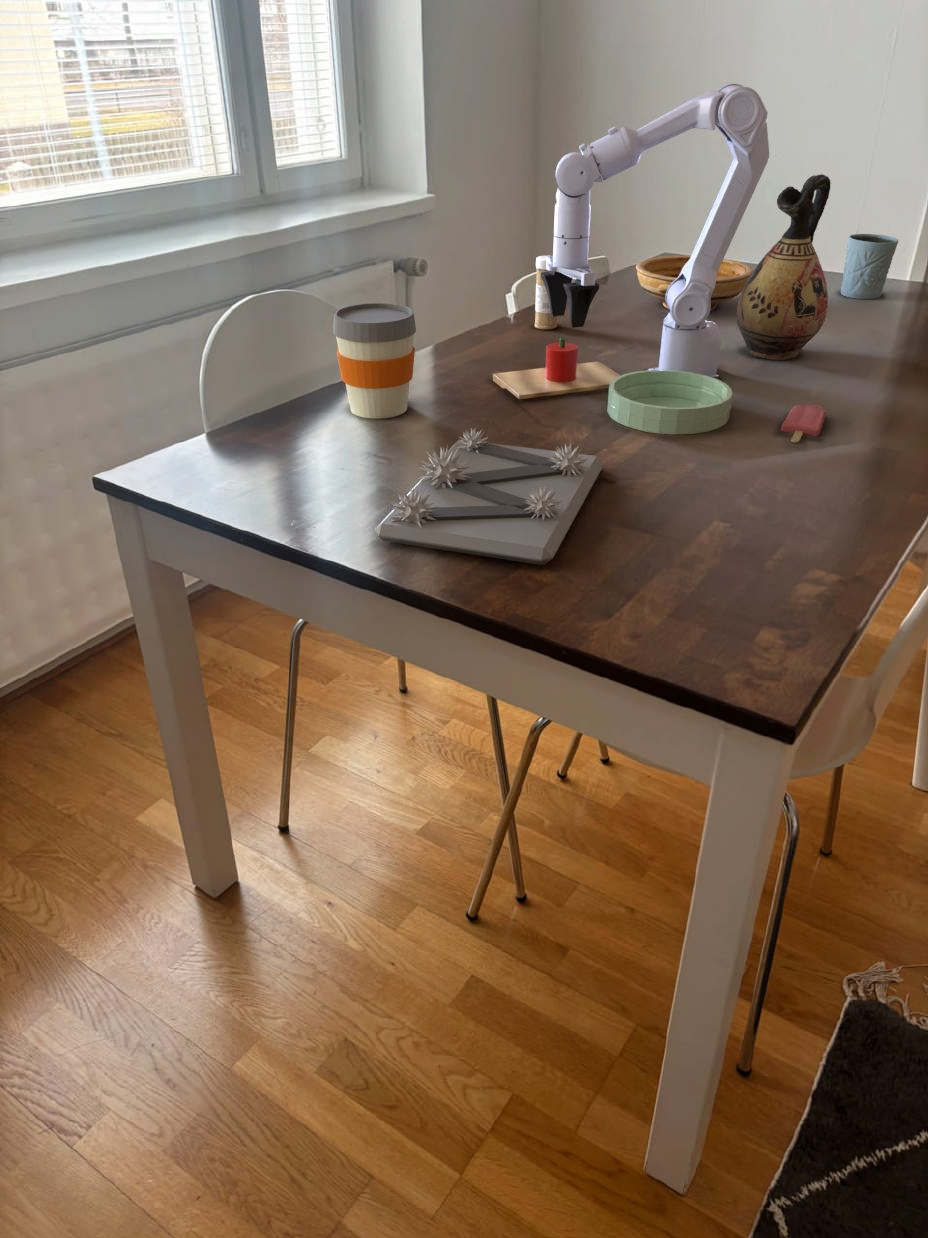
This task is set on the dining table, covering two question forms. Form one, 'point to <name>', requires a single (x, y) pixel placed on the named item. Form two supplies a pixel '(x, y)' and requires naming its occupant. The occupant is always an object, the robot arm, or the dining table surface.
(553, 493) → the decorative plate
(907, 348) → the dining table surface
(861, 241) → the blue embossed cup
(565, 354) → the pepper
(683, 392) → the bowl
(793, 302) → the ceramic jug
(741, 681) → the dining table surface
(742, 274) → the ceramic bowl
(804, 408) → the popsicle
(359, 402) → the reusable coffee cup
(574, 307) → the robot arm
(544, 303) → the sprinkles bottle
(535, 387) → the cutting board
